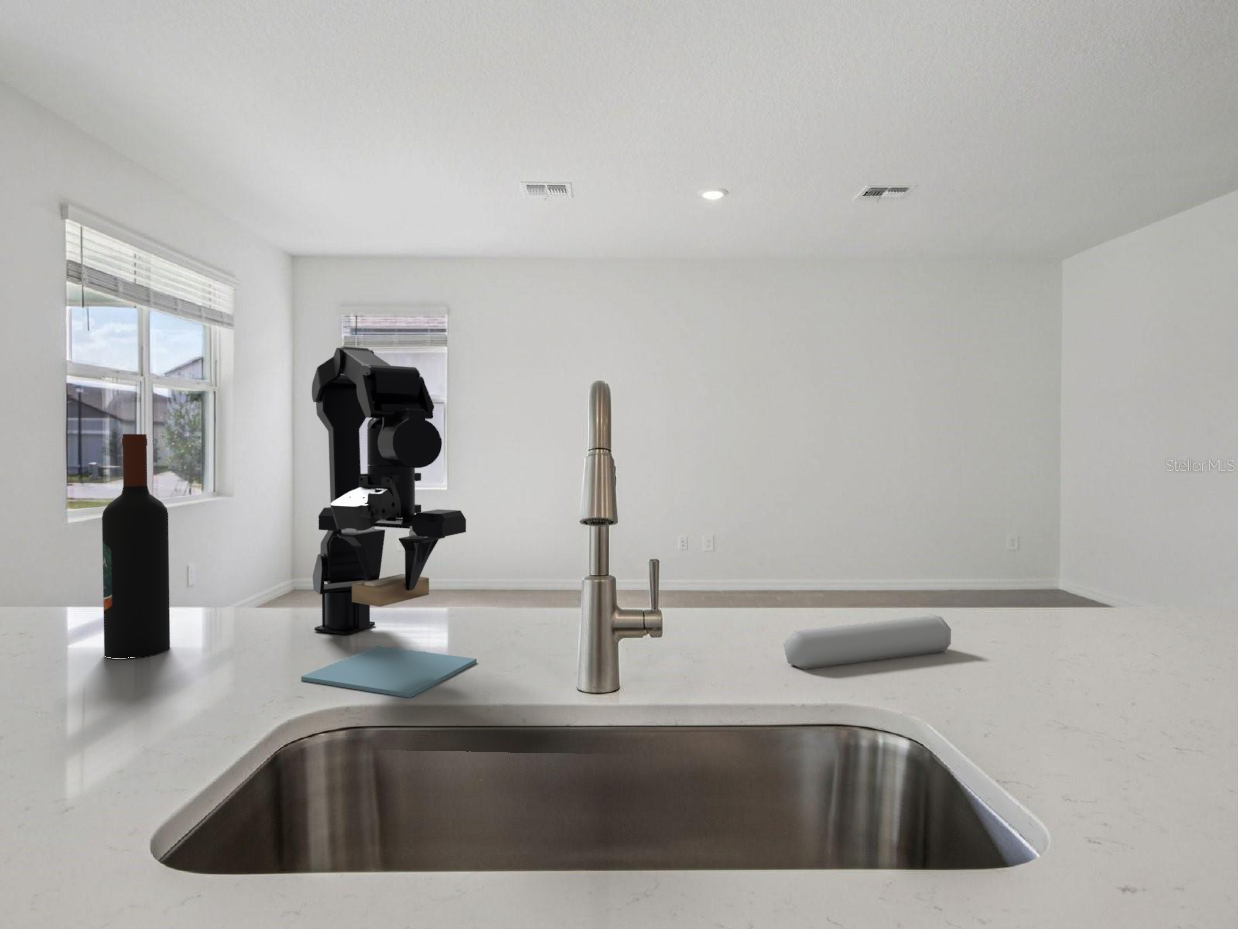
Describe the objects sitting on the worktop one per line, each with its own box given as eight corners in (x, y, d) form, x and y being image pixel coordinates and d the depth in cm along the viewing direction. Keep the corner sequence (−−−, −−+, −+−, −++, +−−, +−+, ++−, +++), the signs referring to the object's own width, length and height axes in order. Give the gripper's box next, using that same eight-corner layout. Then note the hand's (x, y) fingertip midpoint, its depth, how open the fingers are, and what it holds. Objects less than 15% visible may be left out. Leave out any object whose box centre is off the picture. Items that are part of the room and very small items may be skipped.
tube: (803, 646, 90) (956, 627, 98) (780, 623, 94) (928, 607, 103) (795, 681, 92) (946, 660, 100) (773, 657, 96) (919, 638, 105)
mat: (301, 680, 87) (301, 676, 87) (378, 649, 100) (378, 645, 100) (410, 698, 81) (410, 693, 81) (476, 662, 94) (476, 658, 94)
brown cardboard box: (401, 590, 95) (401, 571, 95) (428, 594, 92) (428, 575, 92) (351, 601, 88) (351, 581, 88) (379, 607, 85) (379, 586, 85)
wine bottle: (137, 661, 94) (133, 433, 93) (89, 657, 95) (85, 433, 94) (183, 645, 101) (180, 434, 100) (138, 642, 103) (135, 434, 102)
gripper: (283, 465, 85) (284, 594, 86) (413, 469, 79) (413, 609, 79) (349, 463, 96) (349, 578, 96) (468, 466, 89) (468, 589, 90)
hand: (391, 588), depth 90 cm, fingers closed on brown cardboard box, 5 cm apart
